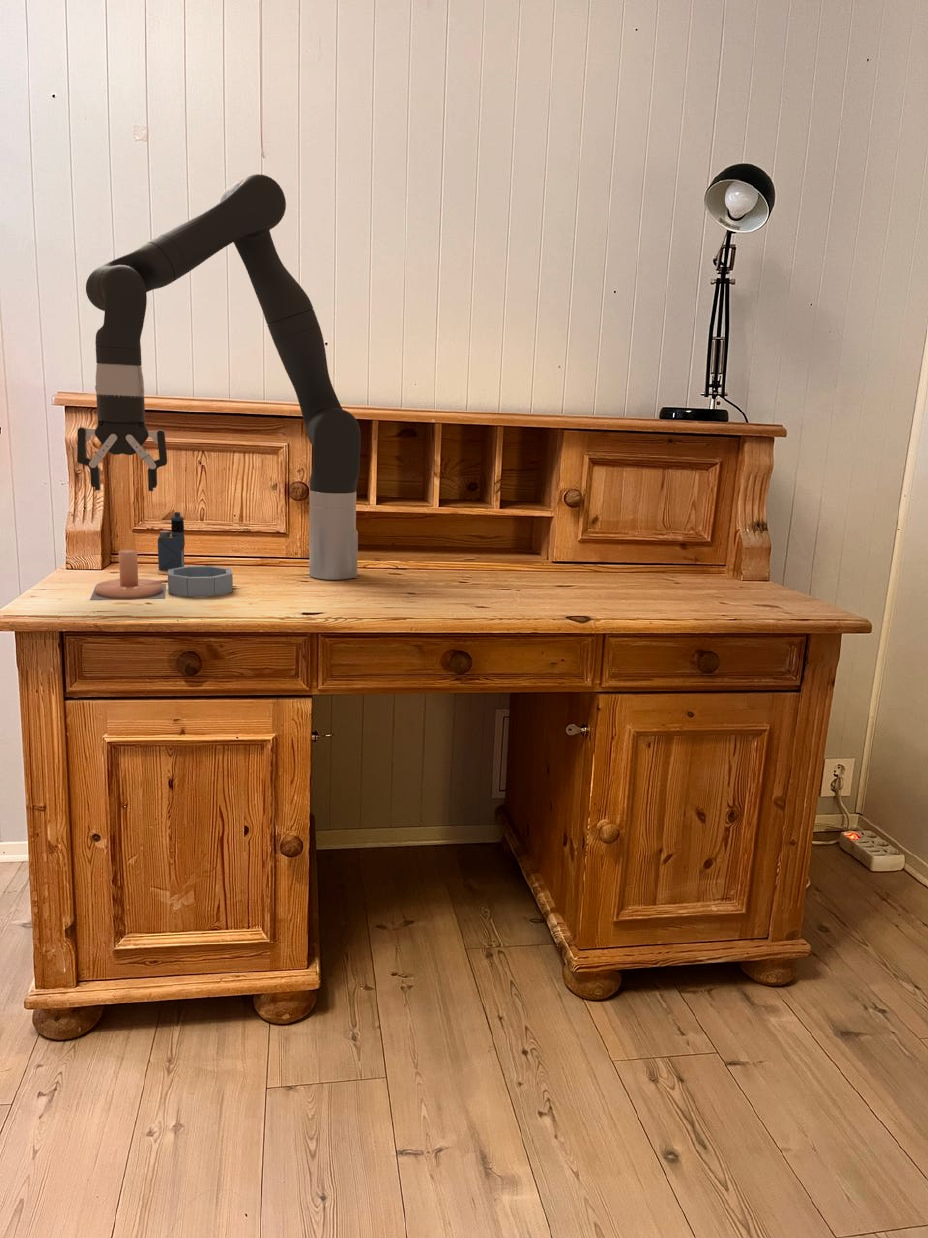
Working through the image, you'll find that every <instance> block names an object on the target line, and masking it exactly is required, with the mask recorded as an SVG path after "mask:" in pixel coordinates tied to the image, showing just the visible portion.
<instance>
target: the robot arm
mask: <svg viewBox="0 0 928 1238" xmlns="http://www.w3.org/2000/svg"><path fill="white" fill-rule="evenodd" d="M286 208H287V202H286V197H285V193H284V190H283V189H282V187H281V186H280V184H279V183H278V182H277V181H276V180H274V179H273V178H272V177H271V176H268V175H265V174H258V173H255V174H250V175H246V176H244V177H242V178H241V179H239V180H237V182H234V183H233V184H231V185H230V186H228V187H227V188H225V190H224V191H223V193H222V195H221V197H220V202H219V203H217V204H216V205H214V206H213V207H210V208H209V209H208V210H206V211H204V212H202V213H200V214H199V215H197V216H195V217H192V218H191V219H188V220H186V221H184V222H183V223H180V224H178V225H176V226H174V227H172V228H170V229H169V230H167V231H165V232H163V233H161V234H160V235H158V236H156V237H154V238H153V239H151V240H149V241H148V242H146V243H144V244H143V245H141V246H140V247H138V248H137V249H136V250H134V251H132V252H129V253H127V254H125V255H123V256H120V257H117V258H115V259H113V260H111V261H109V262H107V263H104V264H103V265H101V266H99V267H97V268H96V269H94V270H93V271H92V272H91V273H90V274H89V276H88V278H87V280H86V283H85V292H86V296H87V299H88V301H89V302H90V303H91V304H92V306H94V307H95V308H97V309H99V310H100V311H102V312H104V317H103V324H102V326H101V327H100V328H98V329H97V331H96V334H95V343H94V344H95V358H96V359H95V360H96V361H95V363H96V370H95V385H94V387H95V388H94V389H95V392H96V393H95V395H96V397H95V398H96V416H97V419H96V420H97V425H96V427H95V428H87V427H85V426H81V427H78V428H77V440H76V441H77V442H76V443H77V444H76V445H77V447H76V451H77V452H76V455H77V457H76V459H77V460H76V461H77V463H78V464H80V465H83V466H86V467H87V468H88V469H89V475H90V476H89V479H90V485H91V488H94V491H101V470H100V469H101V468H100V467H99V464H100V463H101V461H102V460H103V459H104V458H105V456H106V455H107V454H108V453H109V454H112V455H113V456H114V455H115V456H117V455H121V454H123V455H127V456H133V455H135V454H137V455H138V456H139V457H140V458H141V459H142V460H143V462H144V463H145V464H146V465H147V466H148V469H147V478H148V479H147V482H148V483H147V485H148V492H154V489H155V488H157V487H158V472H157V471H158V469H159V468H160V467H164V466H166V465H167V464H168V454H167V453H168V452H167V443H166V442H167V441H166V432H165V430H164V429H158V430H148V429H147V426H146V410H145V408H146V407H145V405H146V404H145V384H144V383H145V380H144V375H143V370H142V369H143V367H142V347H141V339H142V333H143V328H144V323H145V317H146V310H147V306H148V305H147V304H148V303H147V302H148V298H147V296H148V295H147V293H148V292H151V291H154V290H156V289H162V288H164V287H167V286H168V285H171V284H172V283H174V282H175V281H177V280H178V279H180V278H181V277H183V276H185V275H187V274H188V273H190V272H191V271H192V270H194V269H196V268H197V267H198V266H200V265H201V264H203V263H204V262H205V261H207V260H208V259H210V258H212V257H213V256H214V255H216V254H217V253H218V252H220V251H221V250H223V249H224V248H226V247H227V246H230V245H231V244H232V243H233V244H234V246H235V248H236V250H237V252H238V254H239V256H240V258H241V260H242V263H243V264H244V267H245V269H246V272H247V274H248V276H249V280H250V282H251V284H252V287H253V290H254V293H255V295H256V297H257V300H258V303H259V305H260V307H261V310H262V313H263V316H264V319H265V322H266V326H267V328H268V330H269V334H270V336H271V339H272V342H273V344H274V346H275V349H276V350H277V354H278V355H279V358H280V360H281V362H282V366H283V367H284V369H285V370H284V371H286V374H287V377H288V378H289V380H290V382H291V384H292V387H293V389H294V392H295V394H296V397H297V401H298V405H299V407H300V408H299V409H300V412H301V415H302V419H303V423H304V428H305V431H306V436H307V439H308V441H309V443H310V444H311V445H312V448H313V451H312V452H313V453H312V454H313V455H312V457H313V458H312V471H311V475H310V476H309V534H308V535H309V537H308V538H309V542H308V543H309V544H308V545H309V551H308V553H309V555H308V557H309V559H308V560H309V564H308V567H309V572H308V573H309V577H311V578H314V579H320V580H347V579H348V580H349V579H354V578H355V579H356V578H358V555H359V553H358V552H359V550H358V549H359V544H358V543H359V539H358V538H359V533H358V530H357V525H356V522H357V486H358V485H357V484H358V480H359V476H360V469H361V467H360V465H361V449H362V448H361V443H362V441H361V440H362V439H361V438H362V435H361V428H360V424H359V422H358V420H357V418H356V417H355V416H354V415H353V414H352V413H351V412H349V411H347V410H345V409H343V407H342V406H341V403H340V401H339V399H338V397H337V394H336V391H335V389H334V387H333V385H332V381H331V378H330V373H329V368H328V359H327V353H326V346H325V340H324V335H323V332H322V329H321V326H320V323H319V321H318V318H317V315H316V312H315V310H314V306H313V304H312V302H311V300H310V298H309V296H308V294H307V293H306V291H305V290H304V289H303V287H302V286H301V285H300V284H299V283H298V282H297V280H296V279H295V278H294V277H293V276H292V275H291V273H290V272H289V271H288V270H287V268H286V266H285V265H284V263H283V262H282V261H281V258H280V256H279V254H278V252H277V249H276V246H275V244H274V241H273V238H272V235H271V232H270V231H271V230H272V229H274V228H275V227H276V226H278V225H279V223H280V222H281V221H282V219H283V218H284V216H285V213H286ZM93 436H95V437H96V438H97V439H98V441H99V442H100V443H101V447H100V448H99V449H98V450H97V452H96V453H95V454H94V456H92V458H90V457H87V452H88V451H87V450H88V449H87V447H88V445H87V443H88V442H90V441H91V440H92V437H93ZM148 438H151V440H152V441H153V443H154V444H157V448H158V449H157V450H158V458H157V459H153V457H152V456H151V455H150V453H149V452H148V451H147V449H146V448H145V447H144V444H145V443H146V441H147V440H148Z"/></svg>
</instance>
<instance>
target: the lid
mask: <svg viewBox="0 0 928 1238" xmlns="http://www.w3.org/2000/svg"><path fill="white" fill-rule="evenodd" d="M138 563H139V562H138V550H135V549H121V550H118V565H119V579H111V580H110V579H109V580H104V581H101V582H99V583H97V584H95V586H96V594H97V595H99V596H102V597H107V598H119V599H130V598H143V597H150V596H154V595H158V594H160V593H162V591H163V589H162V584H163V583H162V582H161V581H158V580H155V579H147V578H139V568H138V565H139V564H138Z"/></svg>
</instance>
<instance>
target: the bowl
mask: <svg viewBox="0 0 928 1238" xmlns="http://www.w3.org/2000/svg"><path fill="white" fill-rule="evenodd" d="M233 579H234V577H233V571H232V568H227V567H221V566H214V565H186V566H185V565H184V567H179V568H174V569H169V570H168V571H167V592H168V594H171V595H173V596H177V597H185V598H213V597H215V598H216V597H221V596H225V595H228V594H231V593H232V592H233V591H234V590H233V589H234V587H233V585H234V584H233V582H234V580H233Z"/></svg>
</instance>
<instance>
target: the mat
mask: <svg viewBox="0 0 928 1238" xmlns="http://www.w3.org/2000/svg"><path fill="white" fill-rule="evenodd" d="M166 587H167V584H166V583H162V589H163V591H162V593H160V594H158V595H154V596H150V597H143V598H130V599H119V598H107V597H102V596H99V595H97V594H96V585H95V586H94V589H93V592H92V593H91V596H90V598H89V601H120V600H123V601H124V600H125V601H127V600H128V601H129V600H164V599H166V589H167V588H166Z"/></svg>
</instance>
